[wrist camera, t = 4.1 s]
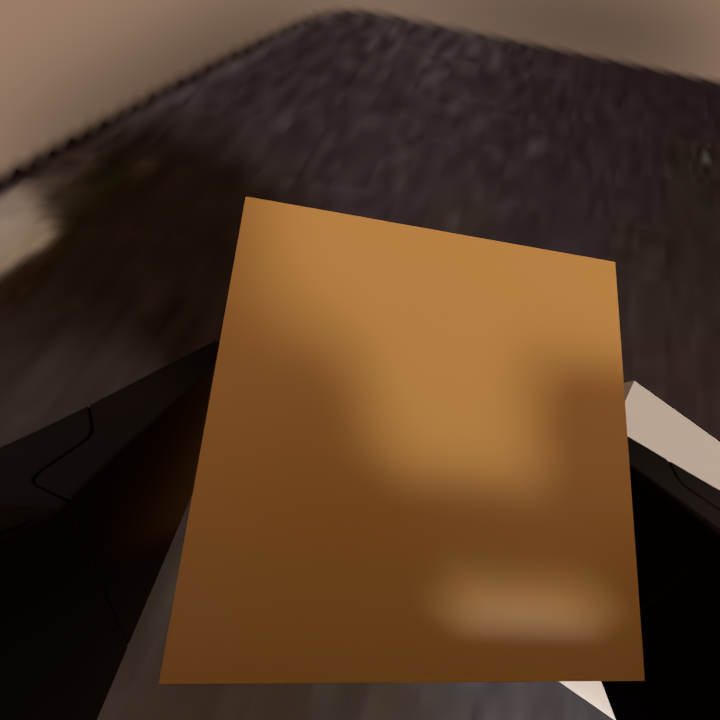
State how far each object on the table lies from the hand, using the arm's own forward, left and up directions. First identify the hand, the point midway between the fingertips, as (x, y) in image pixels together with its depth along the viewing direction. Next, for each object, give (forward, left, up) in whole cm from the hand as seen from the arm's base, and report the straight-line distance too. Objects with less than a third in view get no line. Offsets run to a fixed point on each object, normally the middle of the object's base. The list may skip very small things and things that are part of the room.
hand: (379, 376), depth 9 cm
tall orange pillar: (-1, -1, -7) cm, 7 cm away
